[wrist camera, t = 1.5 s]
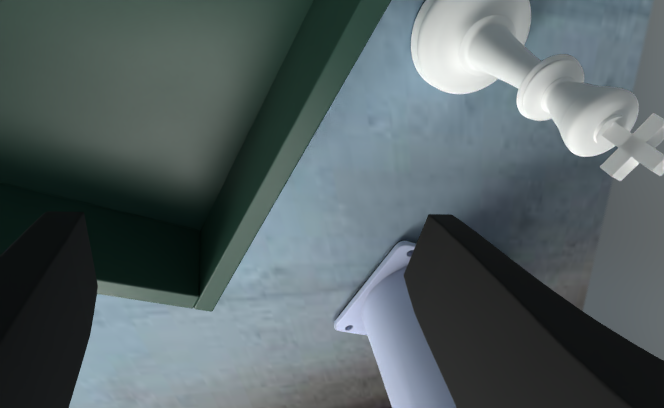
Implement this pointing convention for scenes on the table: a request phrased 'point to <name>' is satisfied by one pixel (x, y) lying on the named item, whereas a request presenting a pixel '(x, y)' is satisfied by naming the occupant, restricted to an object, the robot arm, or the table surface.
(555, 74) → the chess piece
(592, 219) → the table surface
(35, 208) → the tote
